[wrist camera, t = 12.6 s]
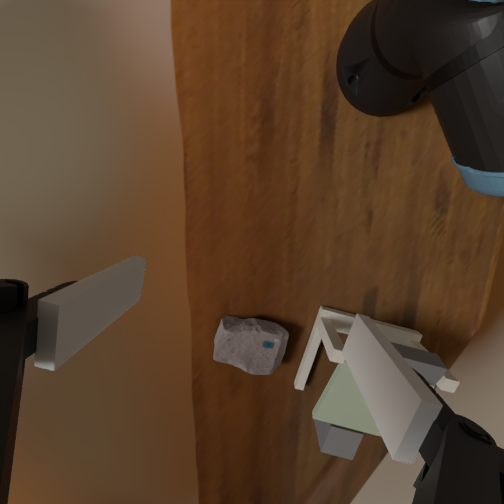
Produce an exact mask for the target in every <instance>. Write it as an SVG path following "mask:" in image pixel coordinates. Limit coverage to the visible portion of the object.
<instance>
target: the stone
mask: <svg viewBox="0 0 504 504" xmlns="http://www.w3.org/2000/svg"><path fill="white" fill-rule="evenodd" d="M288 337H289V334H288V332H287V331H286V330H285V329H284V328H283V327H282V326H280V325H279V324H277V323H274V322H270V321H266V320H260V319H257V318H248V319H245V320H244V319H239V318H238V317H233V316H226V317H224V318H222V319H221V322H220V326H219V328H218V330H217V333H216V336H215V340H214V342H215V348H214V357H213V359H214V360H216V361H218V362H221V363H226V364H232V365H234V366H236V367H239V368H241V369H242V370H244V371H245V372H247V373H251V374H255V375H268V374H272V373H273V372H274V370H275V369H276V368H278V366H279V365H280V364H281V362H282V358H283V355H284V354H285V350H286V346H287V340H288Z"/></svg>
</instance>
